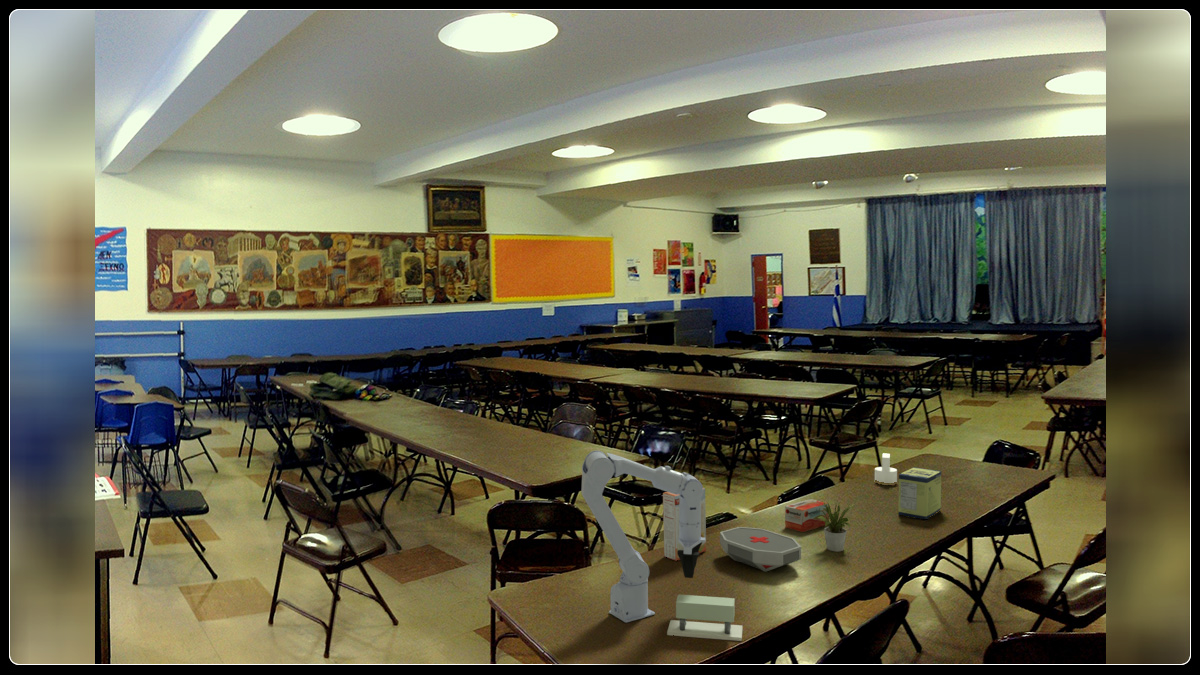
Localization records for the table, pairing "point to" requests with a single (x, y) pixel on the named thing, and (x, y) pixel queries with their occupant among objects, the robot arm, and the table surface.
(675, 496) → the cracker box
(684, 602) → the pale green block
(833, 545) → the house plant
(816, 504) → the medicine box
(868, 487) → the table surface
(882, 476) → the cylinder with rectangular tab
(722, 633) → the peg stand
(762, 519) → the table surface
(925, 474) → the protein box
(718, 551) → the table surface
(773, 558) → the first aid kit
